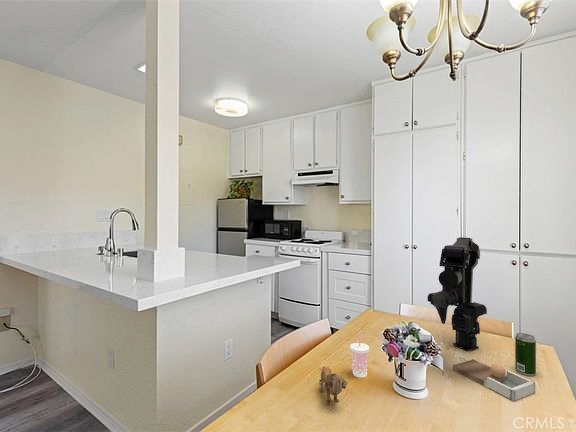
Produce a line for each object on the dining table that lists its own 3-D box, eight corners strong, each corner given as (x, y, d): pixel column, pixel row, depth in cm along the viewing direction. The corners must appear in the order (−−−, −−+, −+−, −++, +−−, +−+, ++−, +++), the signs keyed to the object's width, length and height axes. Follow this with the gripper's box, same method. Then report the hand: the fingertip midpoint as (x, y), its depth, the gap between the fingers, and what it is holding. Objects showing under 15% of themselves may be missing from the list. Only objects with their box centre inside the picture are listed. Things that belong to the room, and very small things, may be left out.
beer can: (532, 378, 97) (532, 340, 97) (512, 371, 101) (512, 335, 101) (538, 373, 100) (538, 336, 100) (519, 366, 104) (519, 331, 104)
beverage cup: (372, 373, 101) (372, 331, 101) (363, 381, 96) (363, 336, 96) (356, 367, 105) (356, 326, 105) (346, 374, 100) (346, 331, 100)
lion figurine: (350, 409, 83) (349, 376, 83) (332, 413, 81) (331, 379, 81) (327, 381, 97) (326, 352, 97) (311, 384, 95) (311, 355, 95)
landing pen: (486, 387, 92) (486, 377, 92) (508, 380, 96) (508, 370, 96) (513, 401, 85) (513, 390, 85) (535, 392, 89) (535, 382, 89)
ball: (499, 365, 93) (505, 380, 92) (503, 361, 95) (509, 375, 94) (485, 366, 96) (491, 380, 94) (490, 362, 98) (495, 375, 97)
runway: (453, 369, 103) (453, 365, 103) (473, 363, 107) (473, 359, 107) (486, 387, 92) (486, 382, 92) (508, 380, 96) (508, 375, 96)
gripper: (415, 279, 110) (416, 322, 111) (463, 291, 93) (463, 342, 93) (438, 276, 115) (438, 318, 115) (487, 287, 98) (488, 336, 98)
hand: (455, 328), depth 105 cm, fingers open, 9 cm apart
